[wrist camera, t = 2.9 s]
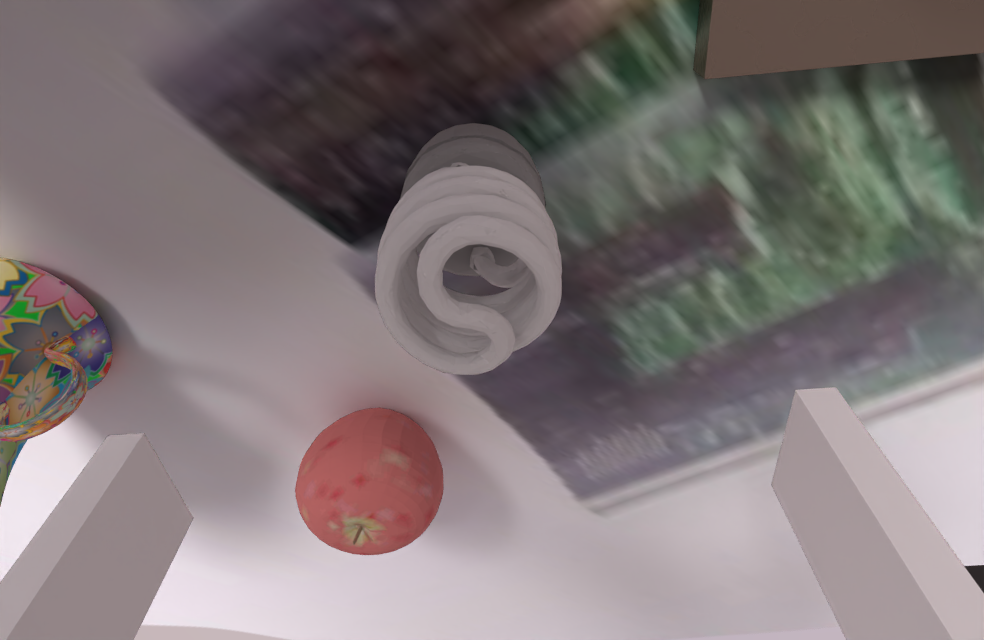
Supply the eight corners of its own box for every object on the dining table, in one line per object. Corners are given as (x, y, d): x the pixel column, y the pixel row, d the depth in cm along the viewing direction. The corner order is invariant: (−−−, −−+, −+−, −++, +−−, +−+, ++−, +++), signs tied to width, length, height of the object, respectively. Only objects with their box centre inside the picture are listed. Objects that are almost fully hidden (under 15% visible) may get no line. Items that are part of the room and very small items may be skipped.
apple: (290, 411, 34) (243, 531, 28) (396, 360, 32) (372, 477, 26) (369, 485, 38) (343, 607, 31) (468, 443, 36) (463, 565, 29)
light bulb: (556, 199, 27) (595, 371, 17) (441, 238, 28) (415, 421, 18) (515, 74, 24) (533, 197, 14) (387, 124, 25) (321, 270, 15)
